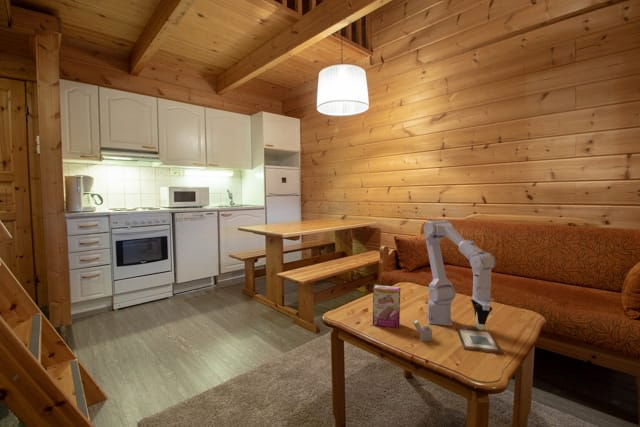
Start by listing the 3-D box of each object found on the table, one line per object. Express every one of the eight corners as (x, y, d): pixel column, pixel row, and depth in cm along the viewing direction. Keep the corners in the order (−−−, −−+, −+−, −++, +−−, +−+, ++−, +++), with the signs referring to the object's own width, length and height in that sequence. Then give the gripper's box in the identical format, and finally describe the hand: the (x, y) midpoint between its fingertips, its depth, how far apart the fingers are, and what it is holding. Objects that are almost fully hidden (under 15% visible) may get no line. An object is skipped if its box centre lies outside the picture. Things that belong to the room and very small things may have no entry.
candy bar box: (372, 325, 126) (372, 288, 125) (373, 320, 131) (373, 284, 130) (399, 328, 123) (400, 290, 122) (399, 323, 128) (400, 286, 127)
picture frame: (463, 349, 107) (464, 343, 107) (456, 329, 123) (456, 324, 122) (501, 353, 104) (501, 348, 104) (488, 332, 119) (488, 327, 119)
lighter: (429, 338, 115) (430, 318, 115) (432, 340, 114) (432, 320, 113) (412, 340, 114) (412, 319, 113) (414, 342, 112) (415, 321, 112)
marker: (476, 328, 110) (477, 306, 109) (475, 325, 113) (475, 303, 112) (486, 329, 109) (486, 307, 108) (483, 326, 112) (484, 304, 111)
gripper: (500, 293, 101) (498, 332, 103) (488, 280, 115) (487, 314, 116) (477, 292, 103) (476, 329, 104) (468, 279, 117) (467, 313, 118)
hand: (480, 321), depth 111 cm, fingers closed on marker, 3 cm apart
